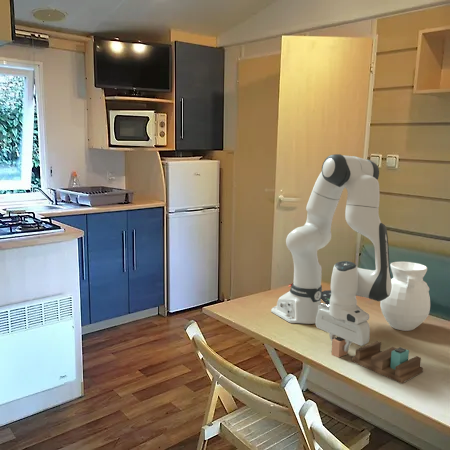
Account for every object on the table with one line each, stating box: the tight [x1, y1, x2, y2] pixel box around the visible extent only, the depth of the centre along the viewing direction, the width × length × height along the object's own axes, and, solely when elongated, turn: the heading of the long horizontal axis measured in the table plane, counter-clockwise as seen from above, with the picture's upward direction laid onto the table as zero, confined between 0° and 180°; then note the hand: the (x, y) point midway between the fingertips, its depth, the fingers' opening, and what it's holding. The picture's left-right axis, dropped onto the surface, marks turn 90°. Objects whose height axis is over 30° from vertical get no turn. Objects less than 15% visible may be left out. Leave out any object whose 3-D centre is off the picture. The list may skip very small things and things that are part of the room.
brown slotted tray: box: [351, 340, 424, 384], centre depth 152 cm, size 18×12×4 cm, turn 38°
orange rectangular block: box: [331, 336, 349, 359], centre depth 160 cm, size 3×5×6 cm, turn 128°
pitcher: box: [379, 261, 431, 332], centre depth 184 cm, size 19×18×25 cm
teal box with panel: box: [390, 346, 410, 369], centre depth 148 cm, size 3×5×6 cm, turn 128°
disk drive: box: [321, 289, 331, 305], centre depth 217 cm, size 10×3×15 cm
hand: (340, 348), depth 160 cm, fingers closed on orange rectangular block, 3 cm apart
